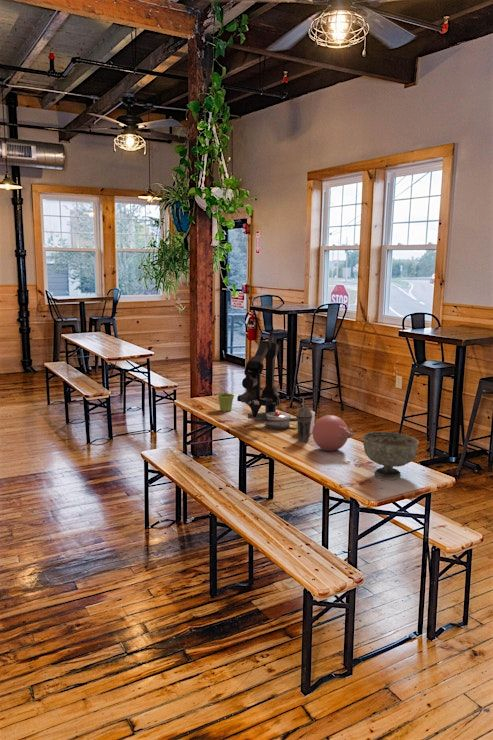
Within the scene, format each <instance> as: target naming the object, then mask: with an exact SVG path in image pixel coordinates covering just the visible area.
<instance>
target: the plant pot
mask: <svg viewBox="0 0 493 740" xmlns="http://www.w3.org/2000/svg"><path fill="white" fill-rule="evenodd" d="M234 398H235V394H233V393H220V394H217V399H218V403H219V411H221V412H224V413H227V412H231V411H232V409H233V408H232V407H233V401H234Z"/></svg>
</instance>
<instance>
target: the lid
mask: <svg viewBox="0 0 493 740" xmlns="http://www.w3.org/2000/svg"><path fill="white" fill-rule="evenodd" d="M246 415H247V419H253V420H254V418H266V419H268V420H274V421H284V420H289V419H290V418H292V417H291V416H292V415H291V414H290V413H288V412H283V411H276V412H270V413H265V412H258V413H257V415H256V417H254V416H253V413H252V412H247V414H246Z"/></svg>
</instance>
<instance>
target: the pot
mask: <svg viewBox="0 0 493 740" xmlns="http://www.w3.org/2000/svg"><path fill="white" fill-rule="evenodd" d="M253 420H254V422H265V428H266V429H268V430H273V431H277V430H278V431H284V430H287V429H289V428H290V426H291V425H290V424H291V423H290V422H297V417H291V418H290V419H289V420H284V421H274V420H268V419H266V418H254V419H253Z"/></svg>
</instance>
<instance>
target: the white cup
mask: <svg viewBox="0 0 493 740" xmlns="http://www.w3.org/2000/svg"><path fill="white" fill-rule="evenodd" d="M310 411H311V413H312V420H311V425H310V433H309V435H311V434H312V431H313V427H314V424H315V417H316V412H315V411H313V410H310Z"/></svg>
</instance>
